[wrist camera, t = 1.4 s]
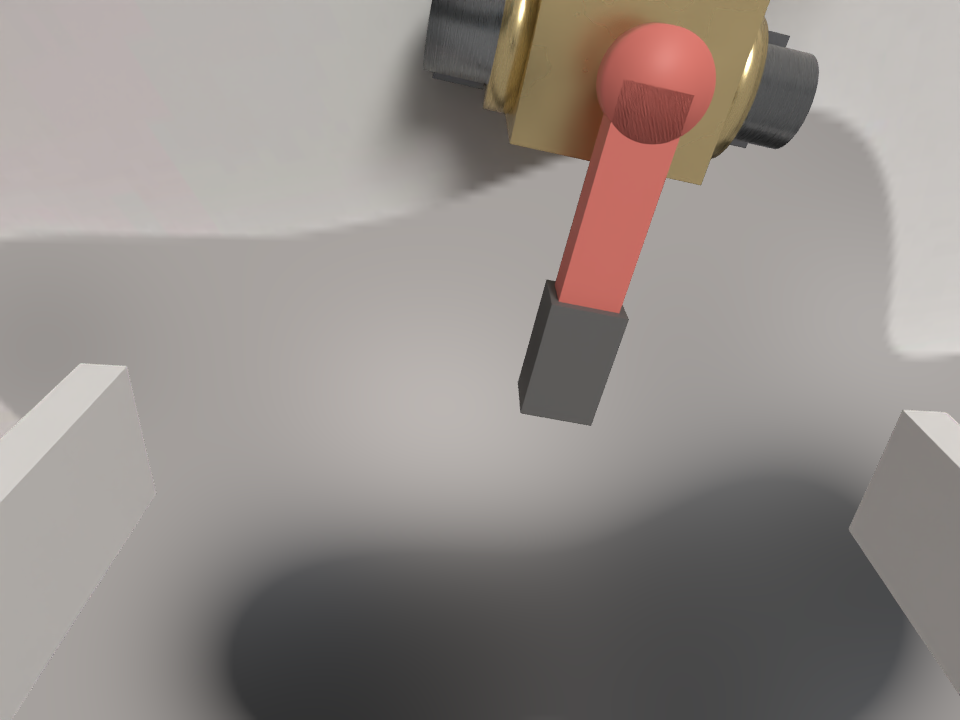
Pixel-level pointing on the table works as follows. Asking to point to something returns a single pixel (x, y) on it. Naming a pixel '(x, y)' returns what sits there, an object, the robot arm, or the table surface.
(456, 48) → the valve body
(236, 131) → the table surface
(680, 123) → the lever
